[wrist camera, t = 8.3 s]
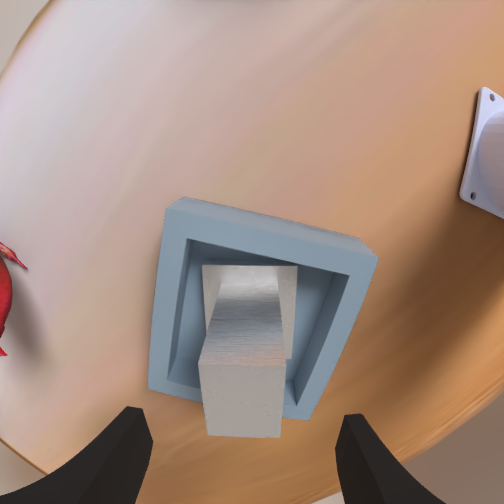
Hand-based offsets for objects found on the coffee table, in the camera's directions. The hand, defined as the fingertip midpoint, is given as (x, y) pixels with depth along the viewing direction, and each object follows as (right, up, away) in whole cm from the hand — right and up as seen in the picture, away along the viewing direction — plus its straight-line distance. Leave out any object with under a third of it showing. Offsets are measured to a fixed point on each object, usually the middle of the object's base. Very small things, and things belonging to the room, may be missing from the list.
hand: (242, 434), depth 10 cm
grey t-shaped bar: (0, +3, +9) cm, 9 cm away
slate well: (0, +3, +10) cm, 10 cm away
